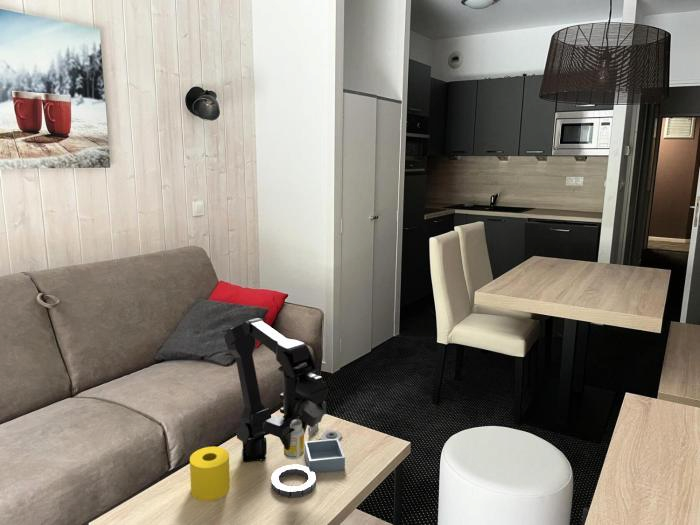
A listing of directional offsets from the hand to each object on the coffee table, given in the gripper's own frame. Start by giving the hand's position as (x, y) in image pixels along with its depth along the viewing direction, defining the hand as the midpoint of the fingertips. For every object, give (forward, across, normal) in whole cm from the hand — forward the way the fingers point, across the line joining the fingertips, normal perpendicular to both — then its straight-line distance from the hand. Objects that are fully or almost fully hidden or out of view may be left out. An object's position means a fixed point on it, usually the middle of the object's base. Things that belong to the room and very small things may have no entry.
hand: (293, 444), depth 144 cm
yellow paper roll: (+12, -14, +17) cm, 25 cm away
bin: (+12, +13, -1) cm, 18 cm away
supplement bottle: (+3, 0, 0) cm, 3 cm away
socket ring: (+12, 0, 0) cm, 12 cm away
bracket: (+13, +26, +8) cm, 30 cm away
